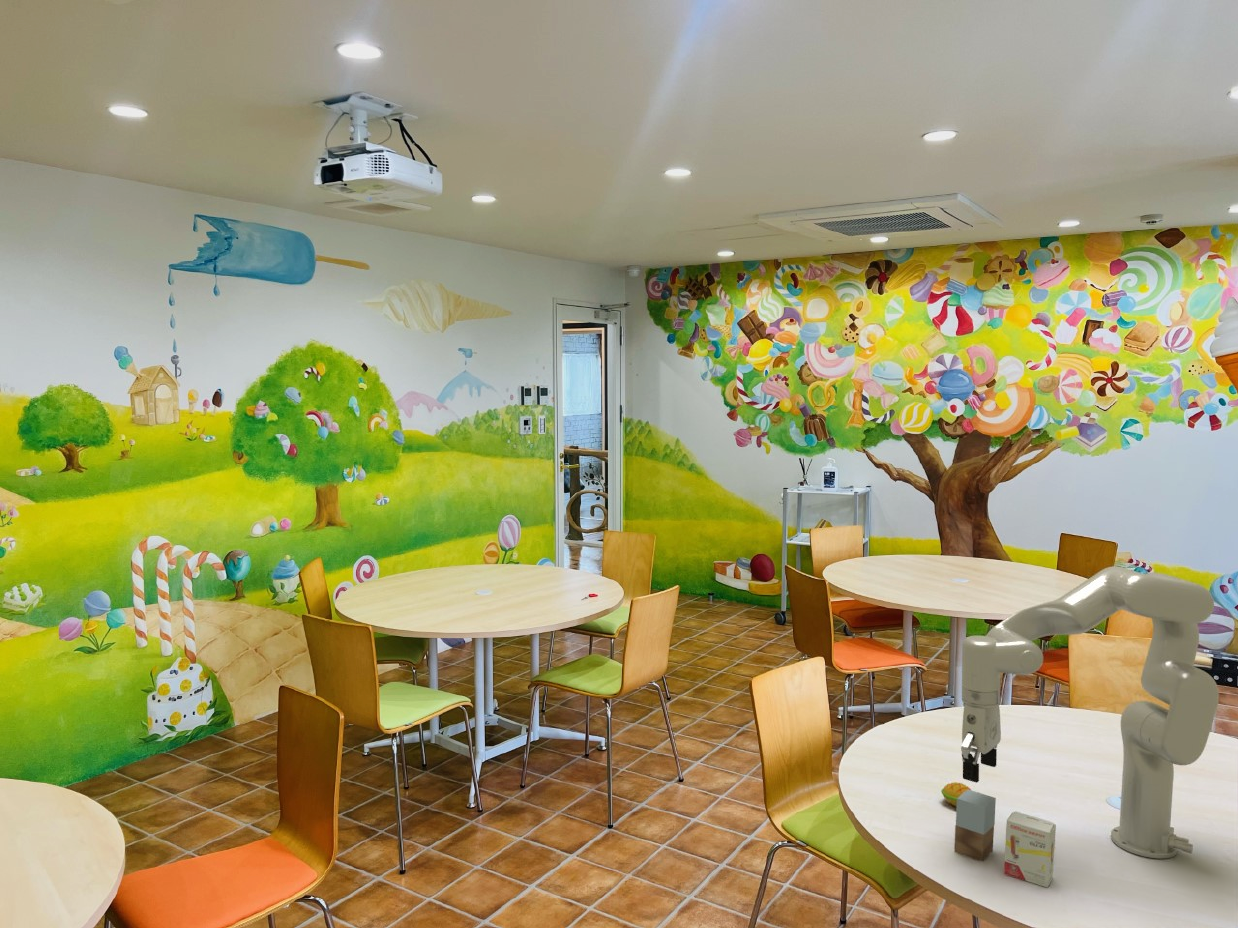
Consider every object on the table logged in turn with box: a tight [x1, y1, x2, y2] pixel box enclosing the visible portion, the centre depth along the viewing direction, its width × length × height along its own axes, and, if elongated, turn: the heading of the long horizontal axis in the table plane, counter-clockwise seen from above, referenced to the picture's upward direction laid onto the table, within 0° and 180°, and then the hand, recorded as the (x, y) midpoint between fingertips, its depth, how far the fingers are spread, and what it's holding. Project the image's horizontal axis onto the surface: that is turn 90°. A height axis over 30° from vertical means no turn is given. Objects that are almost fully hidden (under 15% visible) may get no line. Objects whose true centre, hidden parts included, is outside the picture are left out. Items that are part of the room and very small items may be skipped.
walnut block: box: [953, 824, 995, 863], centre depth 192 cm, size 6×6×6 cm
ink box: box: [1003, 811, 1057, 888], centre depth 182 cm, size 9×5×12 cm, turn 52°
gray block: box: [955, 789, 997, 835], centre depth 192 cm, size 6×6×6 cm
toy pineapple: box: [940, 781, 972, 807], centre depth 213 cm, size 7×10×5 cm
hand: (979, 772), depth 191 cm, fingers open, 9 cm apart
